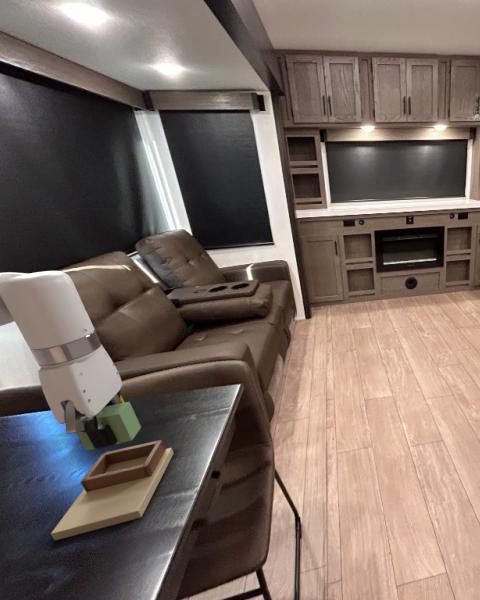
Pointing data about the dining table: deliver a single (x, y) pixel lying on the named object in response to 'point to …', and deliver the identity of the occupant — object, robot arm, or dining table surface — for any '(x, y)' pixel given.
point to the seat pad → (116, 488)
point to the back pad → (116, 424)
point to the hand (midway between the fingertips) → (113, 436)
